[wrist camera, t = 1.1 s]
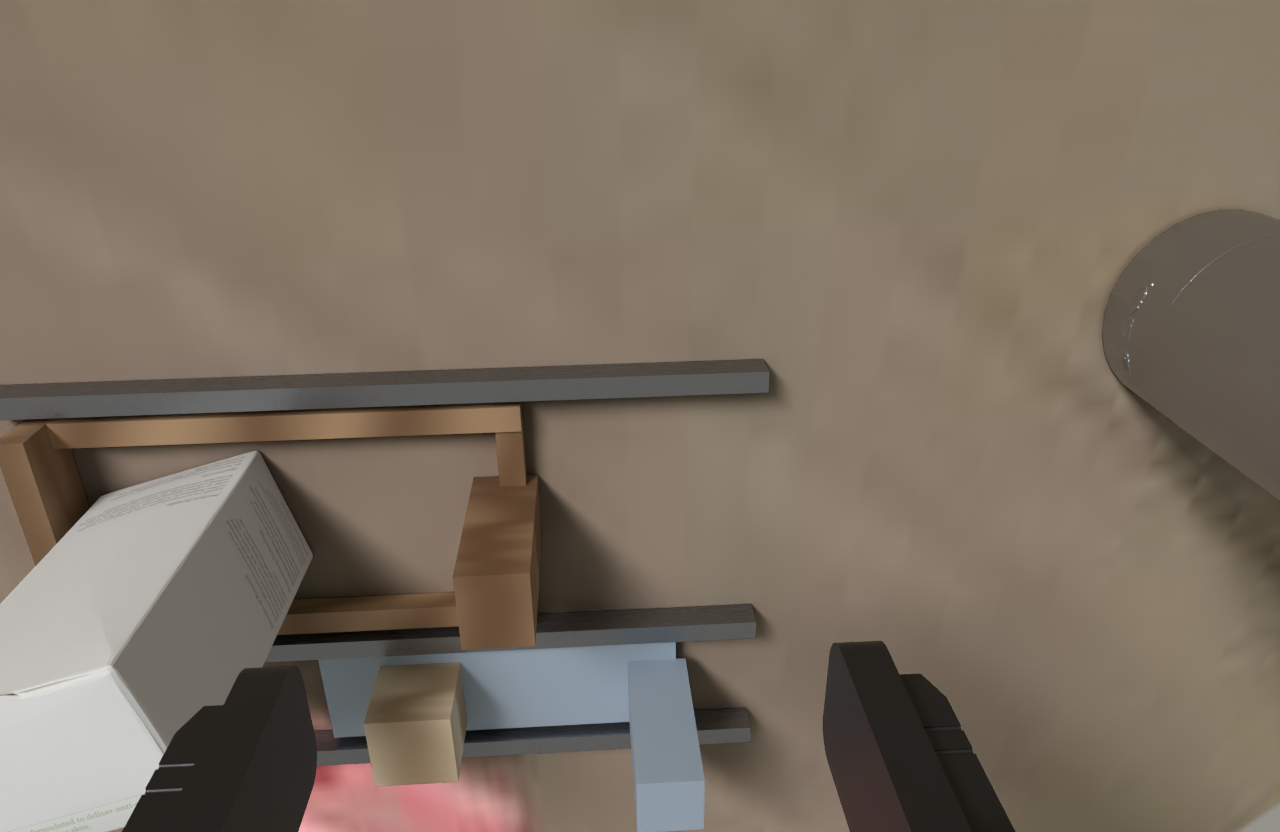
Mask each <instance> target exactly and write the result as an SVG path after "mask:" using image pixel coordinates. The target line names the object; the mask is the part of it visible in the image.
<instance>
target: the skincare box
mask: <svg viewBox="0 0 1280 832" xmlns="http://www.w3.org/2000/svg"><path fill="white" fill-rule="evenodd" d="M312 558H313V554H312V552H311V550H310V548H309V546H308V544H307V542H306V540H305V538H304V536H303V534H302V533H301V531H300V529H299V527H298V525H297V523H296V521H295V519H294V517H293V515H292V513H291V512H290V510H289V508H288V506H287V504H286V502H285V500H284V498H283V496H282V494H281V492H280V490H279V488H278V486H277V484H276V483H275V481H274V479H273V477H272V475H271V473H270V471H269V469H268V467H267V465H266V463H265V461H264V459H263V457H262V455H261V453H260V452H259V451H257V450H255V451H251V452H248V453H244V454H241V455H237V456H234V457H230V458H227V459H223V460H220V461H216V462H213V463H210V464H206V465H203V466H199V467H196V468H192V469H189V470H185V471H182V472H179V473H175V474H172V475H168V476H165V477H162V478H158V479H155V480H151V481H148V482H144V483H141V484H138V485H134V486H131V487H128V488H124V489H121V490H117V491H114V492H111V493H108V494H105V495H102V496H100V497H99V499H98V500H97V501H96V502H95V503H94V504H93V505H92V506H91V508H90V509H89V510H88V511H87V512H86V513H85V514H84V515H83V516H82V517H81V518H80V519H79V520H78V522H77V523H76V524H75V525H74V526H73V527H72V528H71V529H70V530H69V531H68V532H67V533H66V534H65V535H64V537H63V538H62V539H61V540H60V541H59V542H58V543H57V544H56V545H55V546H54V547H53V548H52V549H51V550H50V551H49V553H48V554H47V555H46V556H45V557H44V558H43V559H42V560H41V561H40V562H39V563H38V564H37V565H36V566H35V567H34V569H33V570H32V571H31V572H30V573H29V574H28V575H27V576H26V577H25V578H24V579H23V580H22V581H21V582H20V583H19V585H18V586H17V587H16V588H15V589H14V590H13V591H12V592H11V593H10V594H9V595H8V596H7V597H6V598H5V599H4V601H3V602H2V603H1V604H0V832H109V831H113V830H116V829H120V828H123V827H125V825H126V823H127V821H128V820H129V818H130V816H131V814H132V812H133V810H134V808H135V807H136V805H137V803H138V801H139V799H140V797H141V795H145V791H146V789H145V788H146V786H147V784H148V783H149V781H150V779H151V777H152V775H153V773H154V771H155V770H156V769H158V768H159V762H160V760H161V758H162V757H163V755H164V753H165V751H166V749H167V747H168V745H169V744H170V742H171V740H172V738H173V736H174V734H175V733H176V732H177V731H178V730H179V729H180V728H181V727H182V726H183V725H184V724H185V723H186V722H187V721H189V720H190V719H191V718H192V717H193V716H194V715H195V714H196V713H197V712H198V711H199V710H200V709H201V708H202V707H203V706H214V705H224V703H225V701H226V699H227V697H228V695H229V693H230V691H231V689H232V687H233V685H234V683H235V681H236V679H237V677H238V675H239V673H240V672H241V671H242V670H243V669H245V668H260V667H263V665H264V663H265V660H266V658H267V656H268V654H269V651H270V649H271V647H272V645H273V643H274V640H275V638H276V636H277V634H278V632H279V630H280V628H281V625H282V623H283V621H284V619H285V617H286V615H287V612H288V610H289V608H290V606H291V604H292V601H293V599H294V597H295V595H296V593H297V590H298V588H299V586H300V584H301V582H302V579H303V577H304V575H305V573H306V571H307V569H308V567H309V565H310V562H311V560H312Z"/></svg>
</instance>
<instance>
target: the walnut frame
mask: <svg viewBox="0 0 1280 832" xmlns="http://www.w3.org/2000/svg"><path fill="white" fill-rule="evenodd" d="M493 432H495V436H496V448H497V459H498V470H499V476H494V477H474V479H473V484H472V489H471V493H470V498H469V503H468V508H467V512H466V517H465V522H464V527H463V531H462V536H461V541H460V546H459V550H458V555H457V560H456V564H455V569H454V574H453V582H454V591H455V592H445V593H423V594H402V595H380V596H358V597H337V598H315V599H294V600H293V601H292V604H291V606H290V608H289V610H288V612H287V615H286V617H285V619H284V621H283V623H282V625H281V628H280V630H279V632H278V634H277V635H289V634H310V633H331V632H352V631H372V630H393V629H414V628H434V627H455V626H459V632H460V640H461V648H462V650H469V649H489V648H509V647H529V646H535V644H536V628H537V613H538V597H539V582H540V566H541V551H542V528H541V514H540V499H539V485H538V475H527V466H526V452H525V439H524V425H523V412H522V402H494V403H466V404H438V405H411V406H383V407H355V408H328V409H300V410H272V411H245V412H217V413H189V414H161V415H134V416H106V417H78V418H51V419H24V420H23V421H22V422H20V423H19V424H18V425H17V426H15V427H14V428H13V429H11V430H10V431H9V432H8V433H6V434H5V435H4V436H3V437H1V438H0V467H1V470H2V473H3V476H4V478H5V481H6V484H7V487H8V490H9V492H10V495H11V498H12V501H13V504H14V506H15V509H16V512H17V515H18V518H19V520H20V523H21V526H22V529H23V532H24V535H25V537H26V540H27V543H28V546H29V549H30V551H31V554H32V557H33V560H34V563H35V565H37V564H38V563H39V562H40V561H41V560H42V559H43V558H44V557H45V556H46V555H47V554H48V553H49V551H50V550H51V549H52V548H53V547H54V546H55V545H56V544H57V543H58V542H59V541H60V540H61V539H62V538H63V537H64V535H65V534H66V533H67V532H68V531H69V530H70V529H71V528H72V527H73V526H74V525H75V524H76V523H77V522H78V520H79V519H80V518H81V517H82V516H83V515H84V514H85V513H86V512H87V511H88V510H89V509H90V507H89V504H88V500H87V497H86V494H85V491H84V488H83V485H82V481H81V478H80V475H79V472H78V469H77V465H76V462H75V459H74V456H73V453H72V450H71V448H95V447H122V446H148V445H175V444H201V443H228V442H254V441H281V440H307V439H334V438H360V437H387V436H413V435H440V434H466V433H493Z"/></svg>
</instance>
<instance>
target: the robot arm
mask: <svg viewBox="0 0 1280 832" xmlns="http://www.w3.org/2000/svg"><path fill="white" fill-rule="evenodd" d="M1102 336H1103V344H1104V352H1105V355H1106V358H1107V360H1108V363H1109V365H1110V368H1111V370H1112V371H1113V372H1114V374H1115V375H1116V376H1117V378H1118V379H1119V380H1120V382H1121V383H1122V384H1124V385H1125V386H1126V387H1128V388H1129V389H1130V390H1131V391H1133V392H1134V393H1135V394H1137V395H1138V396H1139V397H1141V398H1142V399H1143V400H1145V401H1146V402H1147V403H1149V404H1150V405H1151V406H1153V407H1154V408H1155V409H1157V410H1158V411H1159V412H1161V413H1162V414H1163V415H1165V416H1166V417H1167V418H1169V419H1170V420H1171V421H1173V422H1174V423H1175V424H1176V425H1177V426H1179V427H1180V428H1182V429H1183V430H1184V431H1186V432H1187V433H1188V434H1190V435H1191V436H1192V437H1194V438H1195V439H1196V440H1198V441H1199V442H1200V443H1202V444H1203V445H1205V446H1206V447H1207V448H1209V449H1210V450H1211V451H1213V452H1214V453H1215V454H1217V455H1218V456H1219V457H1221V458H1222V459H1224V460H1225V461H1226V462H1228V463H1229V464H1230V465H1232V466H1233V467H1234V468H1236V469H1237V470H1238V471H1240V472H1241V473H1242V474H1244V475H1245V476H1247V477H1248V478H1249V479H1251V480H1252V481H1253V482H1255V483H1256V484H1257V485H1259V486H1260V487H1261V488H1263V489H1264V490H1266V491H1267V492H1268V493H1270V494H1271V495H1272V496H1274V497H1275V498H1276V499H1278V500H1279V501H1280V220H1278V219H1275V218H1272V217H1269V216H1266V215H1263V214H1259V213H1254V212H1250V211H1245V210H1218V211H1214V212H1209V213H1205V214H1200V215H1197V216H1195V217H1192V218H1190V219H1187V220H1185V221H1183V222H1180V223H1178V224H1176V225H1174V226H1173V227H1171V228H1170V229H1168V230H1167V231H1165V232H1163V233H1162V234H1160V235H1159V236H1157V237H1156V238H1154V239H1153V240H1152V241H1151V242H1150V243H1149V244H1148V245H1147V246H1146V247H1145V248H1143V249H1142V250H1141V251H1140V252H1139V253H1138V254H1137V255H1136V256H1135V258H1134V259H1133V260H1132V261H1131V263H1130V264H1129V265H1128V266H1127V268H1126V269H1125V270H1124V271H1123V273H1122V274H1121V276H1120V278H1119V280H1118V282H1117V284H1116V285H1115V287H1114V289H1113V291H1112V293H1111V295H1110V298H1109V302H1108V305H1107V308H1106V311H1105V314H1104V323H1103V332H1102ZM960 726H961V725H960V723H959V721H958V719H957V717H956V715H955V713H954V711H953V709H952V707H951V705H950V703H949V702H948V700H947V698H946V697H945V696H944V695H943V694H942V693H941V692H940V691H939V690H938V689H937V688H936V687H934V686H933V685H932V684H931V683H930V682H929V681H928V680H927V679H926V678H925V677H923V676H922V675H921V674H904V675H899V673H898V671H897V668H896V666H895V664H894V662H893V660H892V658H891V655H890V653H889V651H888V649H887V647H886V645H885V644H884V643H883V642H882V641H867V642H845V643H833V645H832V647H831V650H830V656H829V666H828V675H827V685H826V695H825V705H824V714H823V737H824V745H825V751H826V756H827V760H828V764H829V767H830V770H831V773H832V776H833V780H834V783H835V786H836V789H837V792H838V795H839V798H840V802H841V805H842V808H843V811H844V814H845V817H846V820H847V824H848V827H849V830H850V832H1015V830H1014V828H1013V826H1012V824H1011V822H1010V821H1009V819H1008V817H1007V815H1006V813H1005V811H1004V809H1003V807H1002V805H1001V803H1000V801H999V799H998V797H997V795H996V793H995V791H994V789H993V787H992V785H991V783H990V782H989V780H988V778H987V776H986V774H985V772H984V770H983V768H982V766H981V764H980V762H979V760H978V758H977V756H976V754H973V752H972V746H971V744H970V742H969V741H968V739H967V737H966V735H965V733H964V731H961V727H960ZM316 767H317V745H316V739H315V734H314V730H313V725H312V720H311V716H310V711H309V706H308V702H307V697H306V692H305V688H304V683H303V678H302V674H301V672H300V670H299V668H298V667H297V666H282V667H260V668H245V669H243V670H242V671H241V672H240V673H239V675H238V677H237V679H236V681H235V683H234V685H233V687H232V689H231V691H230V693H229V695H228V697H227V699H226V701H225V703H224V705H214V706H203V707H202V708H201V709H200V710H199V711H198V712H197V713H196V714H195V715H194V716H193V717H192V718H191V719H190V720H189V721H187V722H186V723H185V724H184V725H183V726H182V727H181V728H180V729H179V730H178V731H177V732H176V733H175V734H174V736H173V738H172V740H171V742H170V744H169V745H168V747H167V749H166V751H165V753H164V755H163V757H162V758H161V760H160V762H159V768H158V769H156V770H155V771H154V773H153V775H152V777H151V779H150V781H149V783H148V784H147V786H146V788H145V789H146V791H145V795H141V797H140V799H139V801H138V803H137V805H136V807H135V808H134V810H133V812H132V814H131V816H130V818H129V820H128V821H127V823H126V825H125V827H124V829H123V831H122V832H298V831H299V828H300V825H301V821H302V818H303V815H304V812H305V809H306V806H307V803H308V800H309V797H310V794H311V791H312V788H313V785H314V780H315V775H316Z"/></svg>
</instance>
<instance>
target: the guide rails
mask: <svg viewBox="0 0 1280 832" xmlns="http://www.w3.org/2000/svg"><path fill="white" fill-rule="evenodd" d="M769 375H770V371H769V369H768V367H767V365H766V363H765V361H764V359H748V360H719V361H689V362H660V363H631V364H602V365H573V366H543V367H514V368H485V369H456V370H426V371H397V372H368V373H339V374H310V375H280V376H251V377H222V378H193V379H163V380H134V381H105V382H76V383H47V384H17V385H0V420H23V419H51V418H78V417H106V416H134V415H161V414H189V413H217V412H245V411H272V410H300V409H328V408H355V407H383V406H411V405H438V404H466V403H494V402H522V401H549V400H577V399H605V398H632V397H660V396H688V395H716V394H743V393H769ZM748 638H756V619H755V615H754V612H753V608H752V605H751V604H738V605H717V606H696V607H675V608H654V609H633V610H612V611H591V612H570V613H549V614H537V628H536V644H535V646H529V647H509V648H489V649H469V650H462V648H461V640H460V632H459V626H455V627H434V628H414V629H393V630H372V631H352V632H331V633H310V634H289V635H277V636H276V638H275V640H274V643H273V645H272V647H271V649H270V651H269V654H268V656H267V658H266V660H265V662H285V661H305V660H325V659H345V658H365V657H385V656H406V655H426V654H446V653H466V652H486V651H506V650H526V649H546V648H567V647H587V646H607V645H627V644H647V643H667V642H687V641H708V640H728V639H748ZM694 716H695V722H696V728H697V734H698V741H699V745H701V744H719V743H737V742H750V733H751V726H750V722H749V718H748V714H747V709H746V708H731V709H712V710H694ZM314 734H315V739H316V745H317V766H322V765H340V764H358V763H371V761H370V756H369V751H368V745H367V740H366V736H356V737H338V738H334V734H333V730H319V731H314ZM629 748H631V736H630V722H616V723H597V724H579V725H560V726H542V727H523V728H504V729H486V730H467V731H466V734H465V741H464V748H463V754H462V758H466V757H484V756H502V755H520V754H539V753H557V752H575V751H593V750H611V749H629Z"/></svg>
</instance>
